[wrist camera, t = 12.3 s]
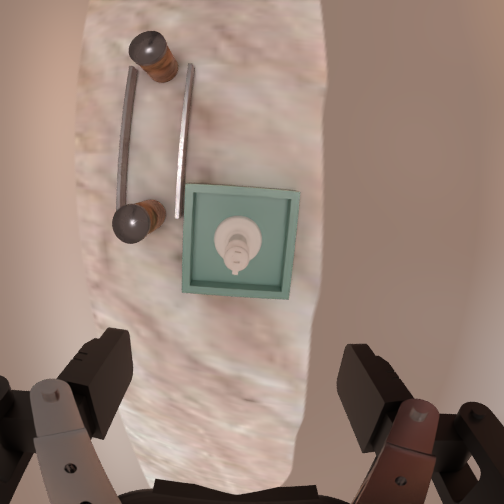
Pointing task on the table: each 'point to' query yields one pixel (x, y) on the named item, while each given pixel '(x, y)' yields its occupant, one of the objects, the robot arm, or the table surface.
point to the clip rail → (160, 70)
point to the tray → (267, 259)
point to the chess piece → (237, 242)
